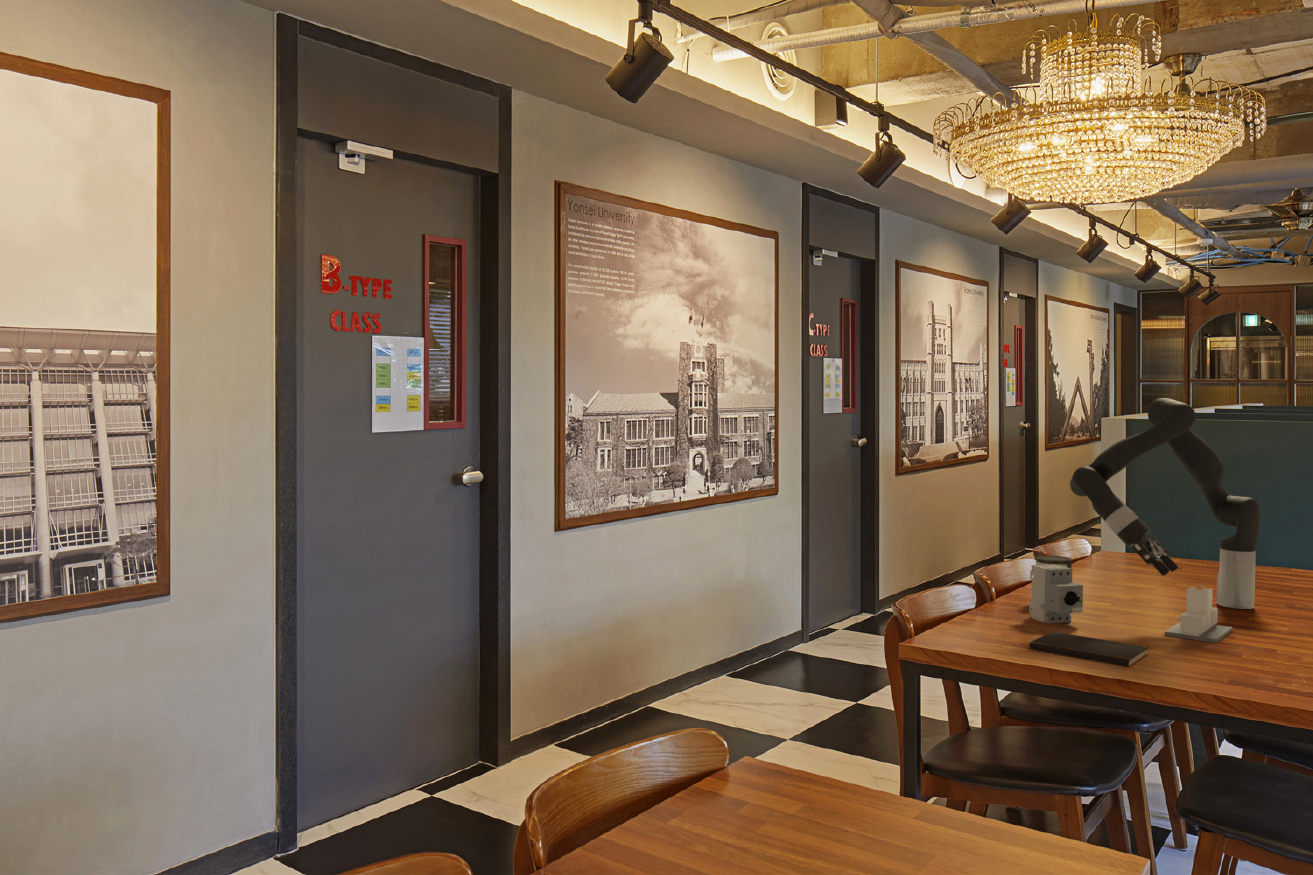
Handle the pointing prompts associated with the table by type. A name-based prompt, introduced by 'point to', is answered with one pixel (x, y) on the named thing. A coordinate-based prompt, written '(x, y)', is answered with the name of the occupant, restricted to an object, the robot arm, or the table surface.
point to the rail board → (1205, 637)
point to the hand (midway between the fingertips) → (1171, 571)
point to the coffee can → (1054, 561)
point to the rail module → (1200, 602)
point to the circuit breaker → (1054, 594)
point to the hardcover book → (1089, 648)
